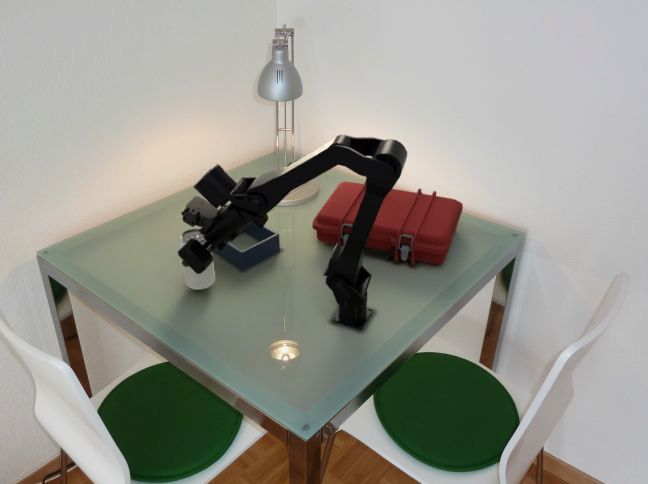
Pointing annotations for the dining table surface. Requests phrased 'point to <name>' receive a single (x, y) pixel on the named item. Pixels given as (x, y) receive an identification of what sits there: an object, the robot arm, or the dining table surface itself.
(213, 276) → the can
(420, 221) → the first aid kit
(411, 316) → the dining table surface
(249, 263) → the case
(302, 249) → the dining table surface
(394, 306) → the dining table surface
